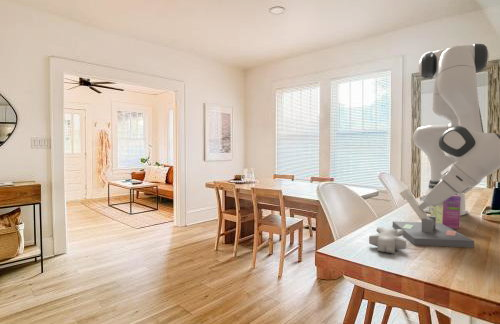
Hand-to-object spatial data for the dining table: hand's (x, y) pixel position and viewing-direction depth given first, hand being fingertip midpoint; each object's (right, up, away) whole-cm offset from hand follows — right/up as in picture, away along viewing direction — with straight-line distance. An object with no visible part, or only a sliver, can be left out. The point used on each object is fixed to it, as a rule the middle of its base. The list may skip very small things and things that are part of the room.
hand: (420, 207), depth 95 cm
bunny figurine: (-16, -10, -11) cm, 22 cm away
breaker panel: (+2, -9, -1) cm, 9 cm away
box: (+16, -9, +13) cm, 23 cm away
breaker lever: (+3, -6, -2) cm, 7 cm away
